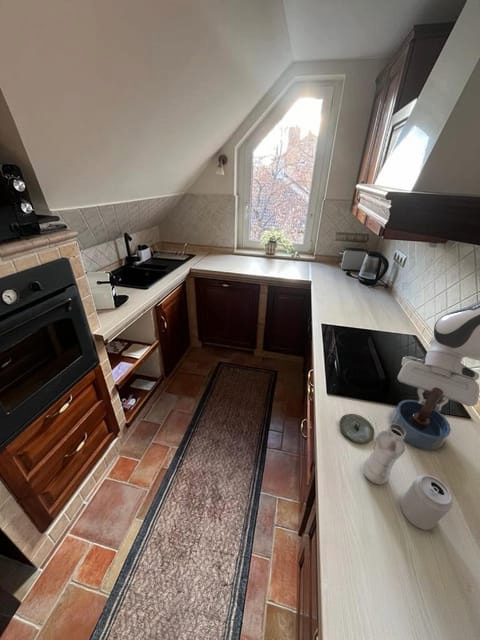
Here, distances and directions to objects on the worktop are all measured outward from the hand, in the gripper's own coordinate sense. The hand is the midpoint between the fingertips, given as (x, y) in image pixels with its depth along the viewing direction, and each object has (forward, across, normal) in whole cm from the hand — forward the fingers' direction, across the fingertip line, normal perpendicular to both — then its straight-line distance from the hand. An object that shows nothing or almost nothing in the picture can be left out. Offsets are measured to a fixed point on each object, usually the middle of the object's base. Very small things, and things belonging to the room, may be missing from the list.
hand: (429, 407), depth 78 cm
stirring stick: (+6, 0, +6) cm, 8 cm away
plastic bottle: (+25, -10, -8) cm, 28 cm away
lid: (+16, -17, +1) cm, 23 cm away
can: (+28, +1, -11) cm, 30 cm away
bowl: (+8, 0, +9) cm, 12 cm away
